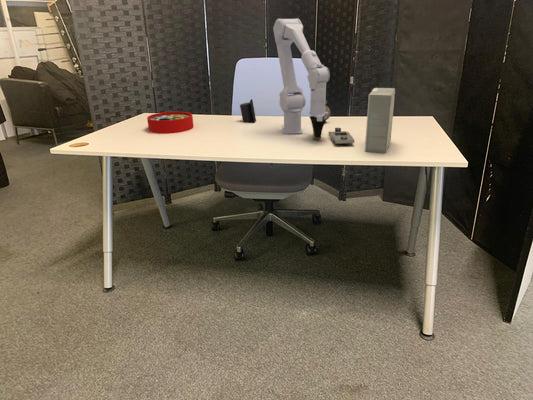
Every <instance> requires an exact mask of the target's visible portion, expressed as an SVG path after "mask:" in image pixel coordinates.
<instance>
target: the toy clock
mask: <svg viewBox="0 0 533 400" xmlns="http://www.w3.org/2000/svg"><path fill="white" fill-rule="evenodd" d="M146 120H147V128H148V131H149V132H150V133H153V134H161V135H165V134H166V135H167V134H178V133H179V134H180V133H183V132H188V131H190V130H192V129H194V119H193V114H192V113H191V112H186V111H166V112H157V113H153V114H151V115H148V116H147V117H146Z"/></svg>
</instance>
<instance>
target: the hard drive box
mask: <svg viewBox="0 0 533 400" xmlns="http://www.w3.org/2000/svg"><path fill="white" fill-rule="evenodd" d="M395 95H396V88H394V87H374V88H373V89H372V90H371V92H370V93H369V94H368V102H367V113H366V114H367V116H366V127H365V128H366V129H365V142H364V143H365V145H364V151H365V152H369V153H381V154H382V153H383V154H386V153H387V151H388V148H389V146H390V144H391V141H392V132H393V131H392V130H393V129H392V128H393V119H394V108H395V107H394V106H395Z"/></svg>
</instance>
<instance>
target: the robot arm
mask: <svg viewBox="0 0 533 400" xmlns="http://www.w3.org/2000/svg"><path fill="white" fill-rule="evenodd" d="M272 30H273V35H274V41H275V44H276V49H277V55H278V60H279V66H280V72H281V78H282V79H281V80H282V83H283V88H282V90H281V91H280V92H279V107H280V109H281V110H282V112H283V127H282V133H283V135H284V134H285V135H286V134H288V135H290V134H291V135H292V134H293V135H294V134H295V135H296V134H303V129H302V111H303V109H304V108H305V106H306V97H305V95H304V92H303V89H302V88H300V87H299V85H298V84H297V83H298V82H297V79H296V73H295V67H294V61H293V55H292V54H293V53H292V49H291V45H292V44H293V43H294V45H295V46H296V48H297V49H298V50H299V52H300V53H301V59H300V60H301V61H302V64H303V66H304V68H305V69H306V72H307V73H308V75H307V81H308V83H309V89H310V102H309V107H310V110H309V115H310V116H309V119H310V122H311V126H312V129H313V128H314V135H315V137H321V138H322V132H323V128H324V126H325V125H326V123H327V120H323V118H324V115H327V114H328V112H325V106H326V104H327V99H326V98H327V97H326V96H327V83H328V82H329V80H330V78H331V74H330V73H331V72H330V70H329V68H328V67H327V66H324V64H322V62H321V61H320V58H319V57H318V55H317V53H316V50H315V51H314V50H313V49H312V50H311V48H310V46H309V44H308V42H307V39H306V37H305V35H304V33H303V31H304V25H303V23H302V21H301V19H299V18H298V17H297V18H277V19H276V20H275V22H274V25H273V29H272ZM325 103H326V104H325ZM325 122H326V123H325Z"/></svg>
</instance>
